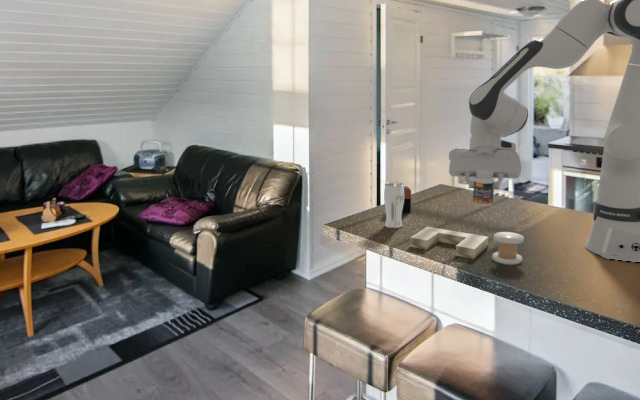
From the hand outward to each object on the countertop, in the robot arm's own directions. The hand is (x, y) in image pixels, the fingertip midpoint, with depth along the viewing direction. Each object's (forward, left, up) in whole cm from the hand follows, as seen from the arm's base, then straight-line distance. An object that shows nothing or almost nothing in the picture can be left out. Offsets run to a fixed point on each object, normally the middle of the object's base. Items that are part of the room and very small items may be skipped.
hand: (483, 188), depth 147 cm
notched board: (+9, +1, -19) cm, 22 cm away
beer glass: (+33, -9, -20) cm, 40 cm away
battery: (+39, -27, -20) cm, 52 cm away
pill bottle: (0, -1, -5) cm, 5 cm away
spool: (-9, +3, -19) cm, 21 cm away
